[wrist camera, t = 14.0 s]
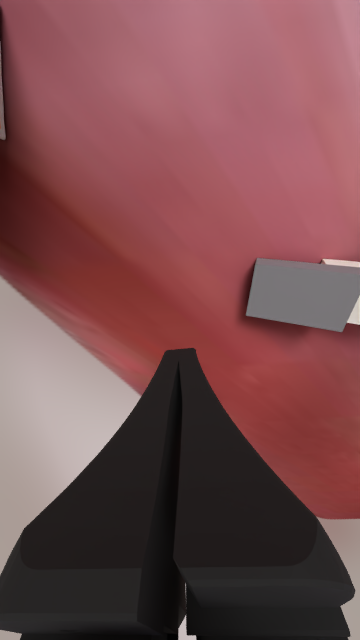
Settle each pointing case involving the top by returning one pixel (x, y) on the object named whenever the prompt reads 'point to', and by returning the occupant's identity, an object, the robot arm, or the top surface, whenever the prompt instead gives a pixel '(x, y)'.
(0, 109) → the skincare box
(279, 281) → the charcoal domino
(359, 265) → the ivory domino
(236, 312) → the top surface
